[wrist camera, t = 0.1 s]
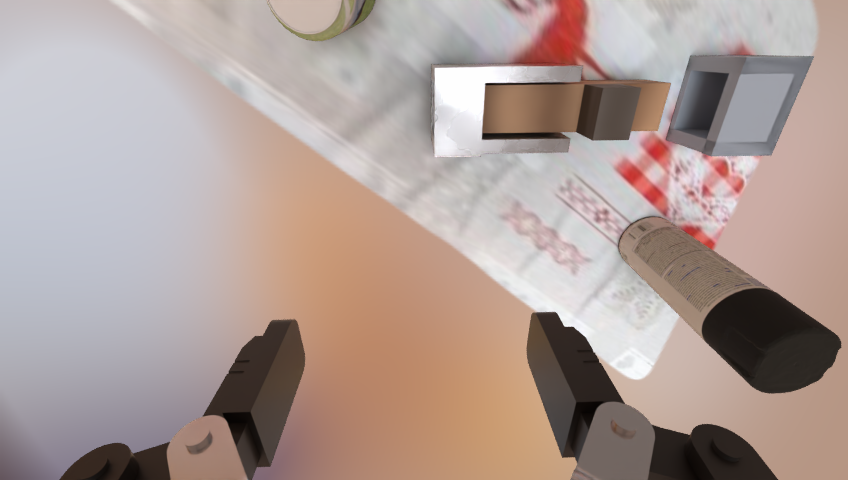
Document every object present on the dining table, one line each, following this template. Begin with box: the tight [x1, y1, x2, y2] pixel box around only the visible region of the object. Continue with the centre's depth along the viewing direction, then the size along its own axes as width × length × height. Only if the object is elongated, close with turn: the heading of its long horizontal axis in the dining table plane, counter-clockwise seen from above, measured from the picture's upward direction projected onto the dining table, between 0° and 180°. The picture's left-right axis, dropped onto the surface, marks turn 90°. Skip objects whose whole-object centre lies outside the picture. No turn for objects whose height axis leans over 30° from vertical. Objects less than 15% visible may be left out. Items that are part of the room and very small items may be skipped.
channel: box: [431, 63, 583, 157], centre depth 33 cm, size 12×7×8 cm, turn 91°
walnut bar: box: [482, 80, 671, 140], centre depth 32 cm, size 20×4×8 cm, turn 91°
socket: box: [666, 55, 814, 156], centre depth 34 cm, size 8×6×7 cm
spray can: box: [619, 217, 841, 393], centre depth 36 cm, size 7×7×20 cm
